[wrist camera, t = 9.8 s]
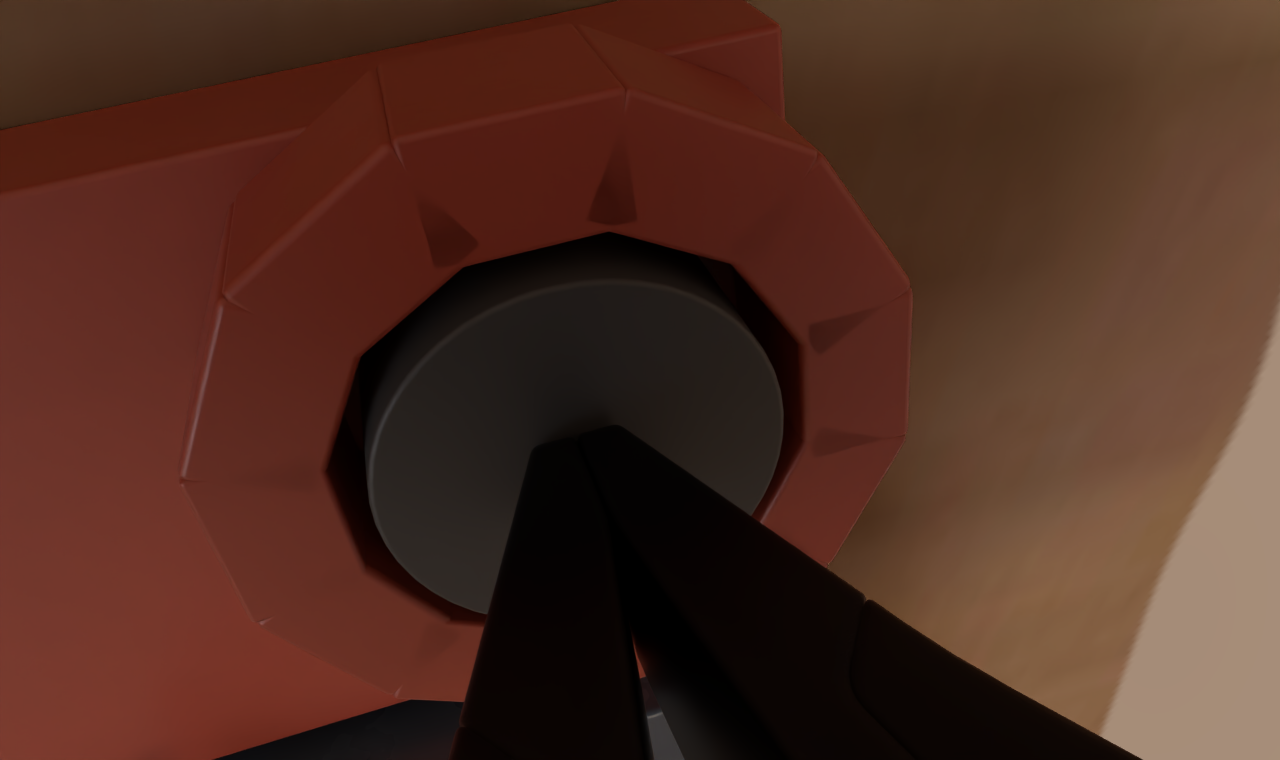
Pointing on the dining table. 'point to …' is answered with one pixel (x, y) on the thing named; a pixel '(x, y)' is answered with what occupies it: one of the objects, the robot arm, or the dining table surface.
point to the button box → (366, 349)
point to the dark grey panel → (414, 735)
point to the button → (554, 394)
